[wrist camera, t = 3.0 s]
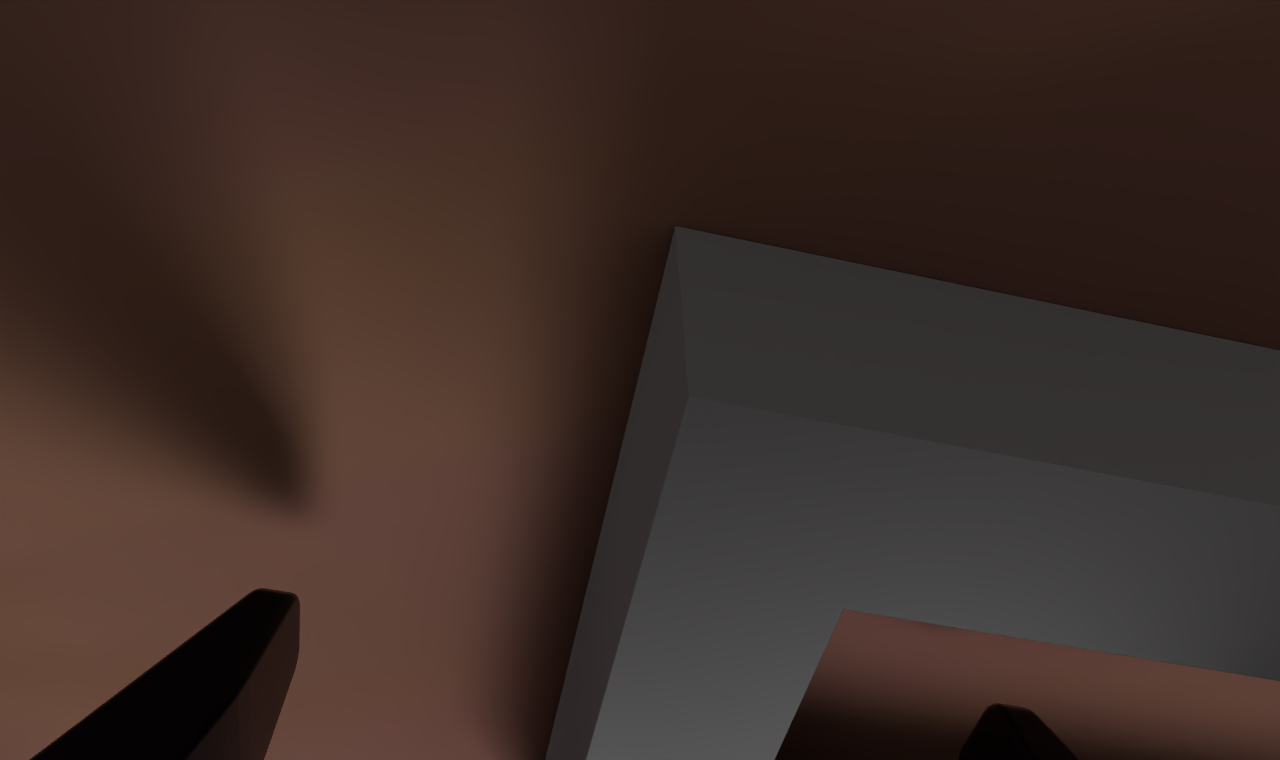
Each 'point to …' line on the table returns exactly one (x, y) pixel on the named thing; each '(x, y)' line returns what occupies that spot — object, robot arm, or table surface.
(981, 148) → the table surface
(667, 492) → the grey rectangular frame
